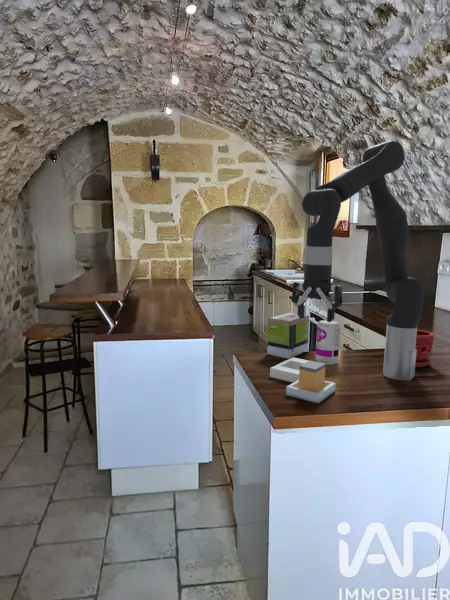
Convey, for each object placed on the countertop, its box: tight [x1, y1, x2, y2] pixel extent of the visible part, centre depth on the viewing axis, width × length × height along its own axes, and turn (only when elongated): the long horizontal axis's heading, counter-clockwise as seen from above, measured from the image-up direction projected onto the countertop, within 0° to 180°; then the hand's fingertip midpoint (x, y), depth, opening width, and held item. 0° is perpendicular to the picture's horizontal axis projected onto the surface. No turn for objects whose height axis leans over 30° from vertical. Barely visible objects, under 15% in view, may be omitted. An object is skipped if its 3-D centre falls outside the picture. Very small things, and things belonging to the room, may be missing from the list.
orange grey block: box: [298, 360, 327, 393], centre depth 126 cm, size 5×7×8 cm
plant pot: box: [415, 329, 434, 368], centre depth 158 cm, size 13×13×12 cm
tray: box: [285, 380, 336, 404], centre depth 126 cm, size 10×12×2 cm
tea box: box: [266, 312, 310, 360], centre depth 168 cm, size 15×10×15 cm, turn 141°
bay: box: [269, 356, 309, 383], centre depth 143 cm, size 11×16×3 cm
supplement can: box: [314, 319, 341, 366], centre depth 157 cm, size 8×8×15 cm
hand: (315, 319), depth 123 cm, fingers open, 8 cm apart
